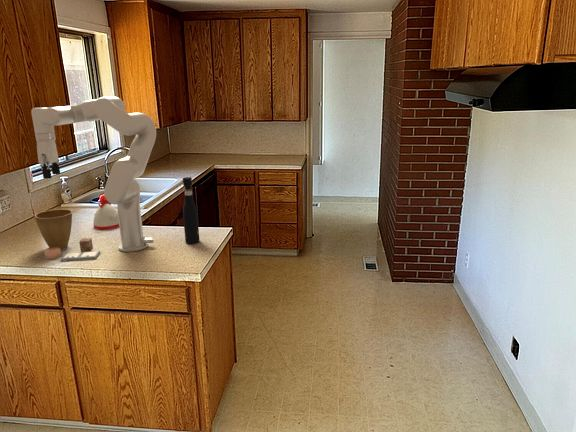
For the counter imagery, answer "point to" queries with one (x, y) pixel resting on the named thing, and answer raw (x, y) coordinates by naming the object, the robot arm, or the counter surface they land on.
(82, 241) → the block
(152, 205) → the counter surface
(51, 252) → the tan round lump
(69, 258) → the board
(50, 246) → the plant pot
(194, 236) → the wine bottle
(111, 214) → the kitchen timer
